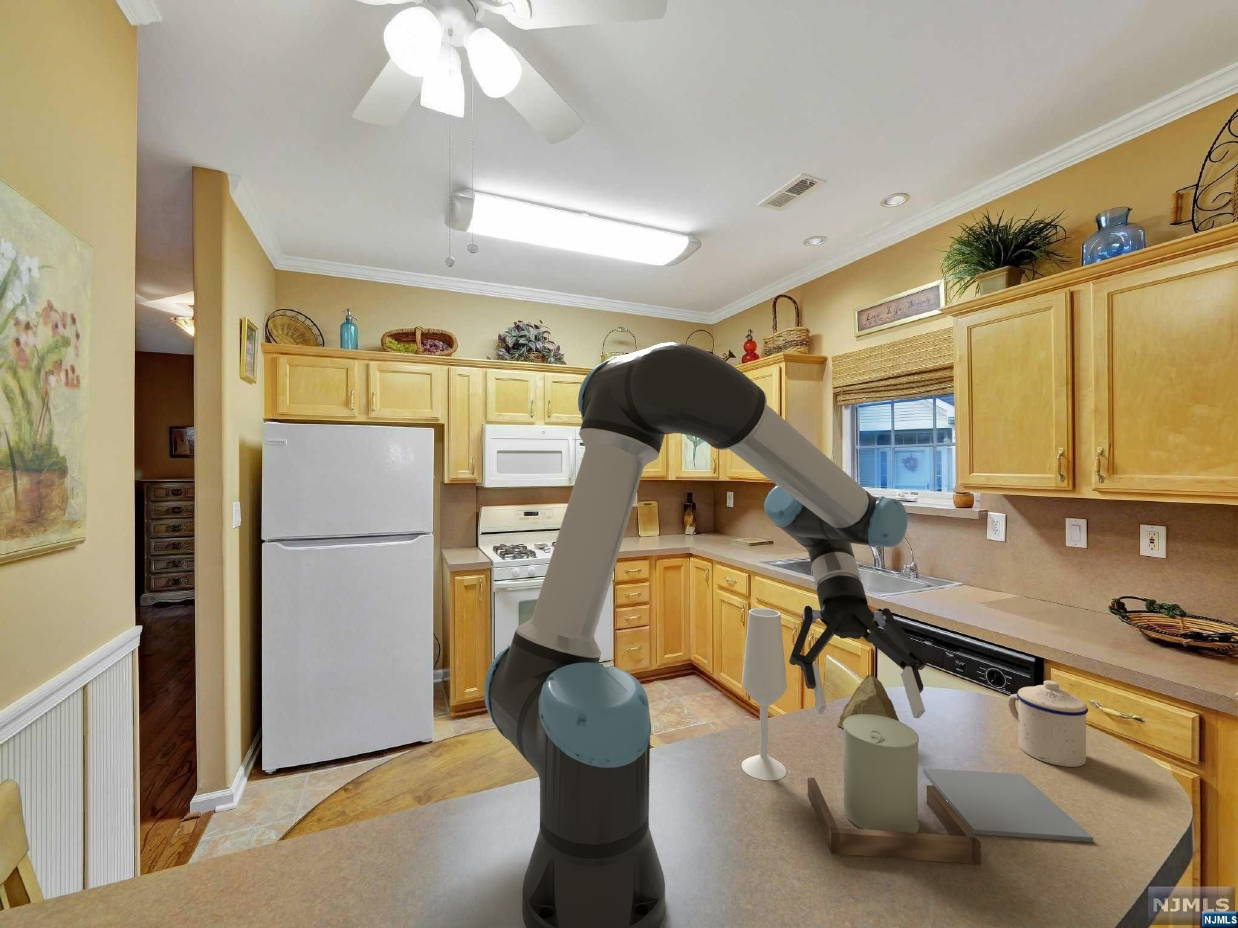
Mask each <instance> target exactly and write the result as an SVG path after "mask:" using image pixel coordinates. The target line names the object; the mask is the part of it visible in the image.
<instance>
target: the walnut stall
mask: <svg viewBox="0 0 1238 928" xmlns="http://www.w3.org/2000/svg"><path fill="white" fill-rule="evenodd" d="M807 798H808V799H809V802H810V803H809V804H810V805H811V807H812V809H813V812H814V814H815V817H816V819H817V822H818V824H819V827H820V829H821V833H822V834H823V837H824V840H825V842H826V844H827V846H828V849H829V851H830V854H836V855H837V854H840V855H851V856H863V857H876V858H877V857H878V858H891V859H903V860H904V859H905V860H916V861H917V860H918V861H932V862H946V863H957V864H959V863H960V864H970V865H971V864H973V865H981V864H982V842H981V841H980V840H979V839H978V837H977V836H976V834H973V832H972V831H971V830H970V829H969V828H968V826H967V825H966V824H965V823H964V821H963V820H962V819H961V818H960V817H959V815H958V814H957V813H956V812H955V810H954V809H953V808H952V807H951V805H950V804H949V803H948V802H947V801H946V799H945V798H944V797H943V796H942V794H941V793H940V792H939V791H938V790H937V788H936V787H935V786H934V785H933V784H926V804H927V806H928V807H929V809H930V810H931V811H932V813H933V814H934V815H935V816H936V818H937V819H938V820H939V822H940V823H941V825H942V826H943V827H944V828H945V830H946V831H947V832H948V834H937V833H923V832H922V833H920V832H917V833H910V832H895V831H881V830H867V829H861V828H849V827H838V826H837V824H836V821H835V819H834V817H833V815H832V813H831V811H830V809H829V805H828V804H827V801H826V799H825V797H824V795H823V793H822V790H821V789H820V786H819V784H818V782H817V780H816V778H815V777H807Z"/></svg>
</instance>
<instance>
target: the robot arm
mask: <svg viewBox="0 0 1238 928" xmlns="http://www.w3.org/2000/svg"><path fill="white" fill-rule="evenodd" d="M767 399H768V398H767V396H766V393H765V391H764V390H763V389H762V388H761V387H760V386H758V385H757V383H755V382H754V381H753V380H752V379H750V378H749V377H748V375H746V374H744V373H743V372H742V371H740V370H739V369H737V368H736V367H735V366H733V365H732V364H730V363H729V362H726V360H724V359H722V358H721V357H718V356H717V355H715V354H713V353H710V352H709V351H707V350H705V349H702V348H700V347H697V346H694V345H690V344H686V343H682V342H662V343H659V344H656V345H652V346H651V347H648V348H644V349H641V350H637V351H635V352H631V353H628V354H623V355H617V356H614V357H611V358H608V359H607V360H605V361H603V362H602V363H599V364H598V365H597V366H594V368H592V369H591V370H590V371H589V372H588V374H586V376H585V378H584V380H583V381H582V383H581V385H580V389H579V392H578V398H577V408H578V411H579V412H580V414H581V417H580V418H581V421H582V423H581V426H580V427H579V428H580V429H579V431H578V436H579V438H580V439H581V441H582V443H583V446H584V453H583V455H582V459H581V462H580V465H579V468H578V472H577V475H576V478H575V480H574V484H573V487H572V490H571V493H570V497H569V499H568V503H567V506H566V509H565V512H564V515H563V519H562V521H561V525H560V529H559V532H558V535H557V538H556V541H555V544H554V547H553V550H552V554H551V557H550V560H549V563H548V566H547V569H546V572H545V575H544V578H543V581H542V586H541V588H540V591H539V594H538V597H537V601H536V603H535V607H534V609H533V610H534V611H533V614H532V616H531V618H530V619H529V620H527V621H525V622H524V623H522V624H520V625H519V626H517V627H516V629H515V632H514V634H513V638H512V640H511V643H510V644H509V645H507V647H506V648H505V649H504V650H502V651H500V652H499V653H497V655H496V657H495V658H494V659H493V661H492V662H491V664H490V666H489V667H488V669H487V672H486V675H485V681H484V685H483V687H484V689H483V694H484V695H483V697H484V704H485V708H486V709H487V713H488V715H489V716H490V718H491V721H492V722H493V724H494V725H495V727H496V728H497V729H496V730H497V731H498V732H499V733H500V734H501V735H502V736H503V737H504V738H505V739H506V740H507V741H509V743H511V744H512V745H513V747H514V748H515V749H516V750H517V752H519V754H520V755H521V756H522V757H523V758H524V759H525V761H526V762H527V763H529V765H530V766H531V768H533V770H535V772H536V773H537V775H538V778H539V779H538V780H539V831H538V834H537V837H536V840H535V842H534V846H533V849H532V852H531V855H530V859H529V862H528V865H527V868H526V871H525V873H524V874H525V875H524V878H523V882H522V883H523V884H522V896H521V897H522V900H521V901H522V903H521V904H522V905H521V906H522V910H521V911H522V917H523V918H522V919H523V922H524V926H525V928H660V927H661V924H662V922H663V919H664V916H665V910H666V881H665V875H664V871H663V868H662V865H661V862H660V859H659V856H658V855H659V854H658V851H657V848H656V846H655V842H654V839H653V836H652V833H651V832H652V831H651V830H650V816H649V815H650V770H651V769H650V764H651V763H650V761H651V755H650V753H651V751H650V750H651V735H652V722H651V715H650V706H649V705H650V704H649V698H648V694H647V692H646V690H645V688H644V687H643V685H642V683H641V682H640V681H639V680H638V679H637V678H636V677H634V676H633V675H632V674H631V673H629V672H627V671H625V670H623V669H621V668H619V667H616V666H615V665H614V666H613V665H610V666H604V664H603V663H600V660H601V655H602V651H601V650H600V648H599V647H600V646H599V645H598V644H597V642H596V639H595V635H596V633H597V629H598V624H599V621H600V618H601V614H602V611H603V607H604V605H605V600H606V598H607V594H608V591H609V588H610V584H611V580H612V577H613V574H614V570H615V567H616V564H617V560H618V557H619V553H620V550H621V547H622V544H623V540H624V536H625V533H626V530H627V526H628V523H629V520H630V516H631V512H632V508H633V505H634V503H635V502H634V501H635V500H636V497H637V492H638V488H639V485H640V482H641V478H642V475H643V473H644V472H643V471H644V469H645V466H647V465H648V464H651V463H652V462H654V461H656V460H658V458H659V457H660V456H659V455H660V453H661V449H662V446H663V442H664V439H665V435H672V434H680V435H685V436H686V435H687V436H691V437H694V438H698V439H700V440H702V441H704V442H706V443H707V444H708V445H709V446H711V447H712V448H714V449H716V450H718V451H719V450H720V451H725V450H728V451H729V450H730V452H732V453H733V454H735V455H736V456H737V457H739V458H740V459H741V460H742V461H744V462H745V463H747V464H748V465H749V466H751V467H752V468H753V469H755V470H756V471H758V472H759V473H760V474H761V475H763V476H764V477H765V478H766V479H768V480H770V482H772V483H773V484H775V487H773V488H772V489H771V490H770V491H769V492H768V493H767V494H768V495H766V497H765V501H764V504H763V505H764V506H763V508H764V512H765V515H766V516H767V517H768V518H769V519H770V520H771V522H773V523H774V525H775V526H776V527H778V528H780V529H781V530H782V531H783V532H785V533H786V534H787V535H789V536H790V537H791V538H793V539H794V541H796V542H797V543H798V544H800V545H801V546H802V547H803V548H804V549H806V551H807V552H808V553H807V554H808V557H809V561H810V566H811V570H812V575H813V580H814V585H815V588H816V593H817V598H818V604H819V608H820V610H819V609H813V608H812V606H810V605H806V606H805V607H804V609H803V612H802V614H801V615H802V616H801V618H802V625H801V628H800V630H799V632H798V635H797V639H796V642H795V643H794V646H793V649H792V652H791V654H790V657H789V660H788V662H789V664H790V665H792V666H795V665H796V666H799V667H800V669H801V671H802V672H803V677H804V683H805V684H804V685H805V687H806V688H807V689H808V690H812V693H813V696H814V703H815V708H816V713H817V714H819V715H820V714H821V715H824V712H825V711H826V708H827V702H826V697H825V693H824V688H823V682H822V677H821V672H820V667H819V666H820V665H819V662H818V663H817V662H815V661H816V659H817V658H818V657H819V655H820V654H821V653H822V652H823V650H824V648H825V647H826V646H827V645H828V643H829V642H830V641H831V640H832V639H833V637H834V636H837V637H839V639H849V638H850V639H854V640H860V639H861V638H863V639H864V640H865V641H866V642H867V643H870V644H872V645H874V646H875V647H876V648H877V649H878V651H880V652H882V653H883V654H884V655H885V656H886V657H888V658H889V659H890V660H891V661H892V662H893V663H895V664H896V665H897V666H898V667H899V668H900V669H902V671H901V672H900V677H901V680H902V682H903V683H902V684H903V687H904V690H905V693H906V697H907V700H908V703H909V707H910V710H911V714H912V716H913V719H920V718H921V717H922V716H923V714H925V712H926V709H925V706H924V702H923V699H922V697H921V693H922V692H923V691H924V684H923V680H922V678H921V674H920V671H922V670H924V669H925V667H926V666H927V665H928V663H929V660H930V659H929V658H928V656H927V655H926V654H925V653H924V652H923V650H921V648H919V646H918V645H917V644H916V643H915V641H914V640H913V639H912V638H911V637H910V636H909V635H908V634H907V632H906V631H905V630H904V629H903V627H902V626H900V624H899V623H898V622H897V621H896V619H895V618H894V615H893V613H892V611H891V610H890V609H889V608H887V607H885V608H883V609H882V611H872V609H870V606H869V604H868V599H867V595H866V591H865V588H864V584H863V582H862V577H861V573H860V570H859V567H858V564H857V560H856V556H855V554H854V550H853V546H852V544H854V545H855V544H856V545H862V546H868V547H870V548H871V547H872V548H875V547H881V548H893V547H896V546H897V545H899V544H901V543H902V541H903V540H904V537H905V536H906V532H907V529H908V513H907V511H906V508H905V506H904V505H903V502H901V501H900V500H898V499H896V498H892V497H885V496H883V495H881V496H874V495H872V494H871V493H870V492H869V491H867V490H866V489H865V488H864V487H863V486H861V485H860V483H858V482H857V481H856V480H854V478H852V477H851V476H850V475H849V474H848V473H846V472H845V471H844V470H843V469H842V468H841V467H839V466H838V465H837V464H836V463H835V462H834V461H832V459H831V458H829V457H828V456H827V455H826V454H825V453H823V452H822V450H820V449H819V448H818V447H817V446H815V445H814V444H813V442H811V441H810V440H808V439H807V438H806V437H805V436H804V435H803V434H801V432H799V431H798V430H797V429H796V428H795V427H793V425H791V424H790V423H789V422H788V421H786V419H784V418H783V416H781V415H780V414H779V413H777V412H776V411H775V410H774V409H773V408H772V407H770V406H769V405H768V400H767ZM818 619H819V620H820V621H821V622H822V623H823V625H825V626H826V628H825V629H824V630H823V632H822V633H821V634H820V636H819V637H818V638H817V640H816V641H815V642H814V644H813V645H812V646H811V648H810V649H809V650H808V652H807V653H806V654H805V655H803V654H801V653H802V651H803V648H804V645H805V643H806V640H807V637H808V634H809V632H810V629H811V626H812V624H815V623H817V620H818ZM873 621H876V622H877V624H878V626H877V624H875V623H874V622H873ZM879 626H880V627H882V629H883V630H884V632H886V634H887V635H888V636H889V637H888V636H887V635H885V634H884V633H883V632H882V631H881V630H880V627H879ZM868 630H869V631H868Z"/></svg>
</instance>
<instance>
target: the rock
mask: <svg viewBox="0 0 1238 928" xmlns="http://www.w3.org/2000/svg"><path fill="white" fill-rule="evenodd" d="M858 714H871V715H879V716H884V717H888V718H891V719H894V720H897V721H900V720H899V717H898V714H897V712H896V709H895V707H894V704H893V701H892V700H891V699H890V698H889V695H888V693H887V691H886V689H885V687H884V686H883V683H882V682H881V681H880V680H879V679H878V678H877V677H875V676H873V675H872V674H867V675H866V676H865V677H864V679H863V680H862V681H861V682H860V684H859V685H858V686H857V687H856V688H855V690H854V692H853V694H852V695H851V698H850V700H849V701H848V702H847V703H846V704H845V706H844V707H843V710H842V713H841V715H840V717H839V721H838V722H837V725H836V726H837V727H838V728H842V729H843V730H844V727H843V722H844V720H845V719H846V718H848V717H850V716H853V715H858Z"/></svg>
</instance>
